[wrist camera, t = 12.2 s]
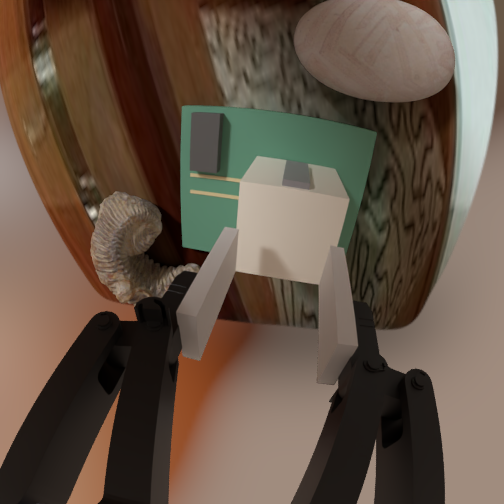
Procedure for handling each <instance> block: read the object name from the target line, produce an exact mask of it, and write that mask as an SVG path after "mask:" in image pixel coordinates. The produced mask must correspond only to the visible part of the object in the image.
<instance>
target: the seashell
mask: <svg viewBox="0 0 504 504" xmlns="http://www.w3.org/2000/svg"><path fill="white" fill-rule="evenodd" d="M98 217H99V218H98V221H97V223H96V227H95V230H94V233H93V234H92V239H91V250H90V252H91V256H92V259H93V263H94V265H95V268H96V272H97V274H98V275H99V279H100V281H101V282H102V283H103V284H105V285H106V286H107V287H108V288H109V290H110V291H112V292H113V293H114V294H115V295H116V298H117V299H118V300H119V301H120V302H121V303H126V302H128V303H134V306H135V305H136V303H137V302H139V301H140V300H141V299H144V298H146V297H159V298H162V297H163V295H164V294H165V292H166V291H167V290H168V288H169V286H170V285H171V283H172V282H173V280H174V278H175V277H176V276H177V275H178V274H180V273H181V272H183V271H184V270H186V271H190V272H195V273H198V272H199V270H200V269H201V268H200V266H199V265H196V264H192V263H190V264H187V265H186V266H183V265H180V266H178V267H177V268H175V267H174V266H169V267H167V266H165V265H163V266H162V267H160V263H154V261H153V259H149V257H148V255H144V252H146V251H147V250H148V249H149V247H150V246H151V245H152V244H153V243H154V240H155V239H156V237H157V236H158V235H159V234H160V233H161V231H162V223H161V213H160V211H159V209H158V208H157V207H156V206H155V205H153V204H152V203H151V202H150V201H147V200H144V199H140V198H139V197H137V196H129V195H128V194H127V193H126V192H125V193H121V192H117V191H116V192H115V193H113V195H111V196H109V197H107V198H105V199H104V201H103V203H102V204H100V210H99V215H98Z"/></svg>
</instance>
